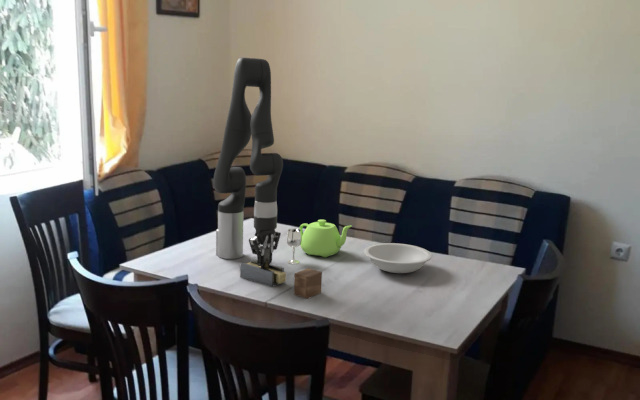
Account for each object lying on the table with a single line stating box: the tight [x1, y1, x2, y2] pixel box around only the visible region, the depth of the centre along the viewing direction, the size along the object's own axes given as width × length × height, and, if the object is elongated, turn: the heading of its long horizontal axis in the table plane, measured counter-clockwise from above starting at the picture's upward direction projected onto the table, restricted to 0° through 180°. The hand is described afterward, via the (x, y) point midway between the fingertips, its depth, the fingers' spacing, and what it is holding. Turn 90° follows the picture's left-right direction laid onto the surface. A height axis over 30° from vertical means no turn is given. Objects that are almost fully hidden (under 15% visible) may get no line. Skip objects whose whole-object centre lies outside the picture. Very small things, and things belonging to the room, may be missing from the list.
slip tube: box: [245, 247, 287, 285], centre depth 212 cm, size 16×3×10 cm, turn 54°
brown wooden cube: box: [293, 267, 323, 300], centre depth 202 cm, size 6×7×7 cm
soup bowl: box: [364, 242, 433, 274], centre depth 228 cm, size 24×24×7 cm
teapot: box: [298, 219, 352, 258], centre depth 244 cm, size 22×15×13 cm
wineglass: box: [285, 228, 302, 265], centre depth 232 cm, size 6×6×12 cm
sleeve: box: [239, 258, 285, 288], centre depth 213 cm, size 14×6×5 cm, turn 54°
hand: (264, 264), depth 212 cm, fingers closed on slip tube, 3 cm apart
